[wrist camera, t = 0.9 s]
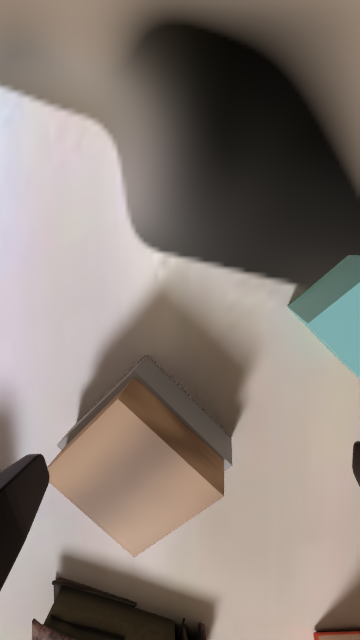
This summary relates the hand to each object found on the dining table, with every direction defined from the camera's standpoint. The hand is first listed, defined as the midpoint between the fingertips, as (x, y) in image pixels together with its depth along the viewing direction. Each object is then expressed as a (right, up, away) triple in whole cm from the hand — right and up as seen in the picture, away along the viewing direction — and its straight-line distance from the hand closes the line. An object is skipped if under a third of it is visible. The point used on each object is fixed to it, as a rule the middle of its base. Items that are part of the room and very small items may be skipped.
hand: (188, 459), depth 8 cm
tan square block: (-3, -6, +13) cm, 15 cm away
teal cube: (+11, +5, +11) cm, 16 cm away
